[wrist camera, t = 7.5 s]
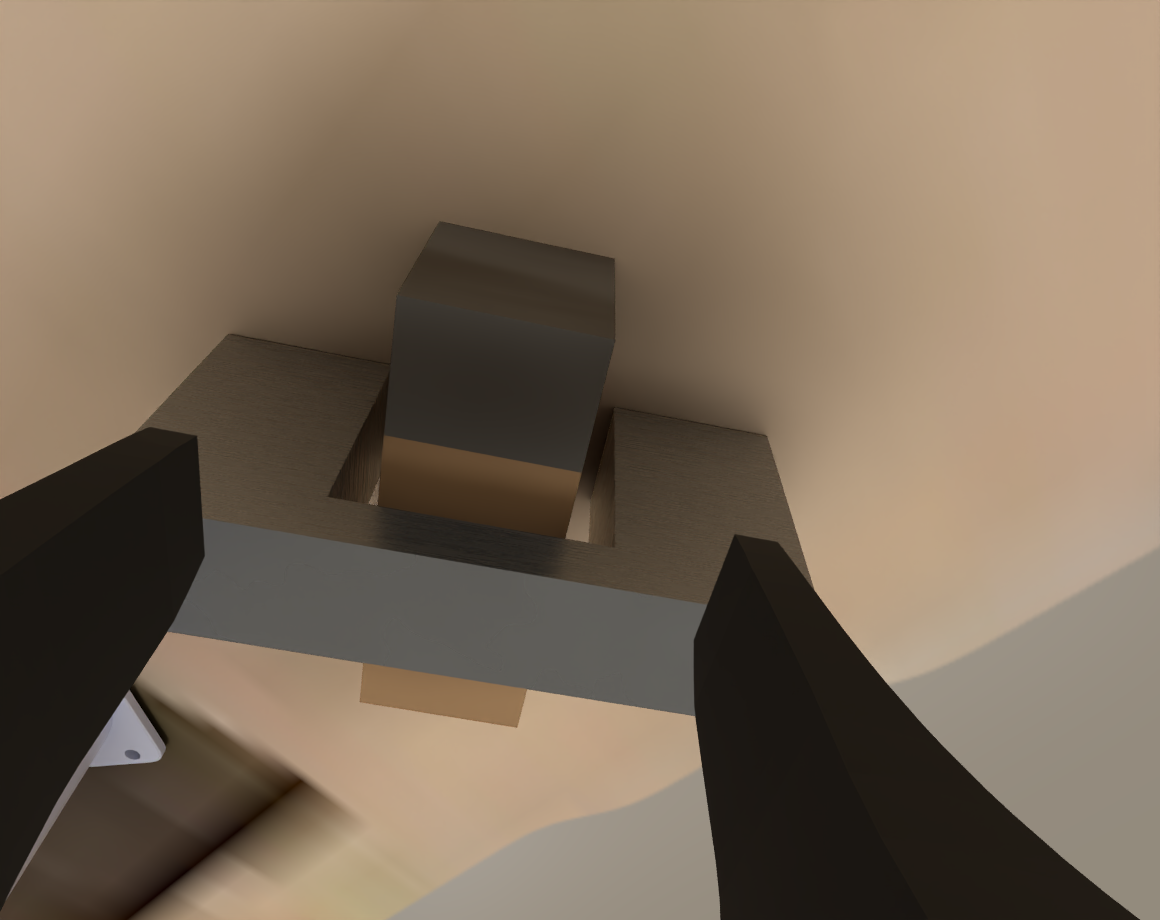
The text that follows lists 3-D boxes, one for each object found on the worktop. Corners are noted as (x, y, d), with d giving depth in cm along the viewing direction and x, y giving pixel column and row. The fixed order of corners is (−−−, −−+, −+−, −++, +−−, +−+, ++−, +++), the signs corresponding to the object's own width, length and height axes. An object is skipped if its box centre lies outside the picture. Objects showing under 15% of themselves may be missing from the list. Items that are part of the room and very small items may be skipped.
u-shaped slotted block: (732, 527, 23) (773, 728, 17) (232, 437, 22) (95, 620, 16) (767, 436, 21) (824, 625, 15) (227, 333, 20) (74, 496, 14)
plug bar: (531, 608, 25) (517, 727, 21) (397, 584, 24) (359, 702, 21) (614, 258, 19) (615, 339, 15) (439, 220, 18) (396, 295, 15)
